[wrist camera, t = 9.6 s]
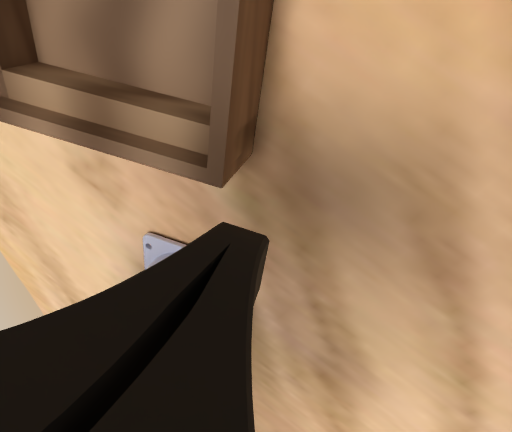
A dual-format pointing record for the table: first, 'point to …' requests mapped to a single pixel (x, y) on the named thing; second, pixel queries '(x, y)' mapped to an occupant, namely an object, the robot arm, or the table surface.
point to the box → (139, 78)
